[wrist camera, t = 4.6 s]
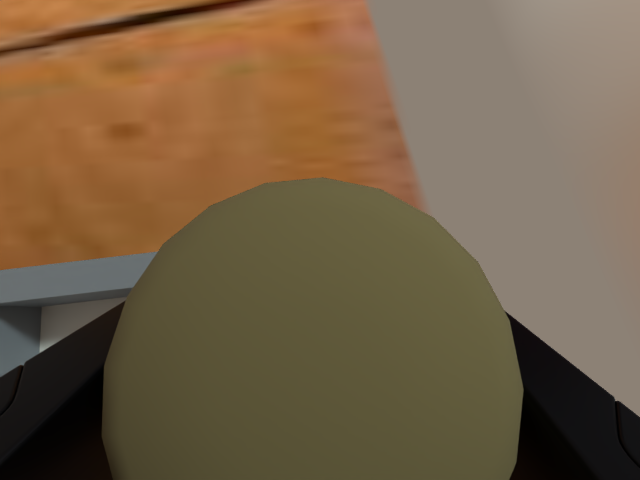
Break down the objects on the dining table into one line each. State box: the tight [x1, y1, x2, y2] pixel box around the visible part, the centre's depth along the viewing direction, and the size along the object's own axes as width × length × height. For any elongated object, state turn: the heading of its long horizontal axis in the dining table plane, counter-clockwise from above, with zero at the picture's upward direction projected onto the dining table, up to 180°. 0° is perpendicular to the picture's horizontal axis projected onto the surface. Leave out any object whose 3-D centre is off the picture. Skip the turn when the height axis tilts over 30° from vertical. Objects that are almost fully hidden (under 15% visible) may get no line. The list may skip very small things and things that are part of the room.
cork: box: [102, 178, 524, 480], centre depth 9 cm, size 6×6×11 cm
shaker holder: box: [0, 252, 157, 377], centre depth 17 cm, size 11×11×4 cm
